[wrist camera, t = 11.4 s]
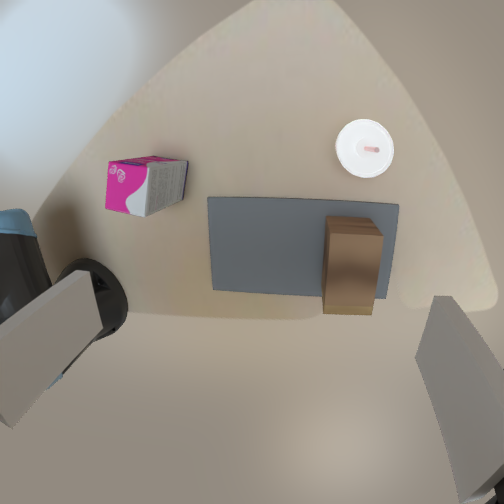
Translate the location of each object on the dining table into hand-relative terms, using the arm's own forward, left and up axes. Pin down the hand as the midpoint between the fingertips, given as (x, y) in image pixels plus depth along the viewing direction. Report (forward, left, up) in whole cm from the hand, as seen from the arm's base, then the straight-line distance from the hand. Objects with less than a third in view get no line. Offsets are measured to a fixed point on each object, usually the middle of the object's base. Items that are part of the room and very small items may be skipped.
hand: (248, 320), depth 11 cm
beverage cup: (+8, +6, -32) cm, 33 cm away
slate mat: (+2, -8, -32) cm, 33 cm away
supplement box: (-17, +2, -32) cm, 36 cm away
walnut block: (+8, -9, -31) cm, 33 cm away
